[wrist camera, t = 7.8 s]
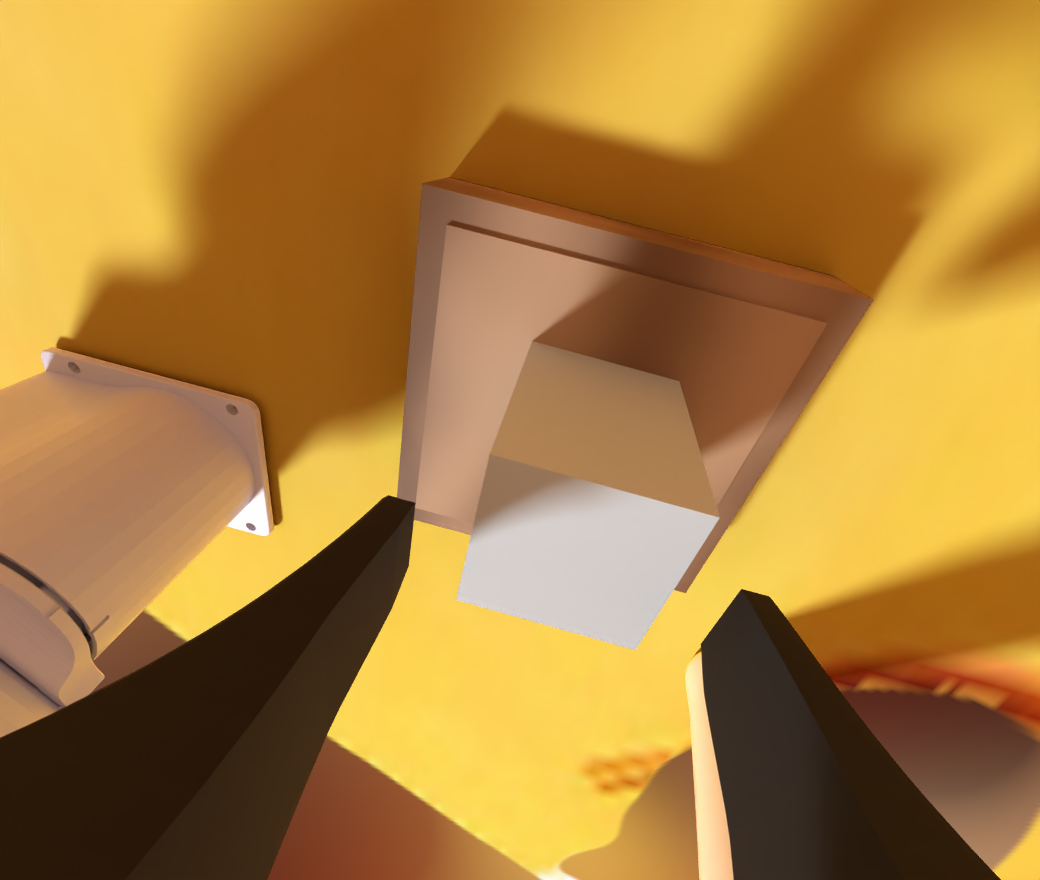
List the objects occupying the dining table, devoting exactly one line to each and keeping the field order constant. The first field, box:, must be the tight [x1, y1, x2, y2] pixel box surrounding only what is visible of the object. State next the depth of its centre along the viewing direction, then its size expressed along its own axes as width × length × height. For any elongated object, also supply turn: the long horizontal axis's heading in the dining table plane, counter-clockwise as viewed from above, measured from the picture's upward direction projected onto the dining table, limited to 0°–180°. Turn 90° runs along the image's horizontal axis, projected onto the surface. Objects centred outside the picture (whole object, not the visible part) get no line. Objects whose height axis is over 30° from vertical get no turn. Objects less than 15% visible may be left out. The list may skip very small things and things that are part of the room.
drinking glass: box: [685, 652, 734, 880], centre depth 18 cm, size 7×7×15 cm
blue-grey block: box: [456, 341, 720, 650], centre depth 13 cm, size 4×4×6 cm
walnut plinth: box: [397, 177, 873, 593], centre depth 16 cm, size 12×12×3 cm
